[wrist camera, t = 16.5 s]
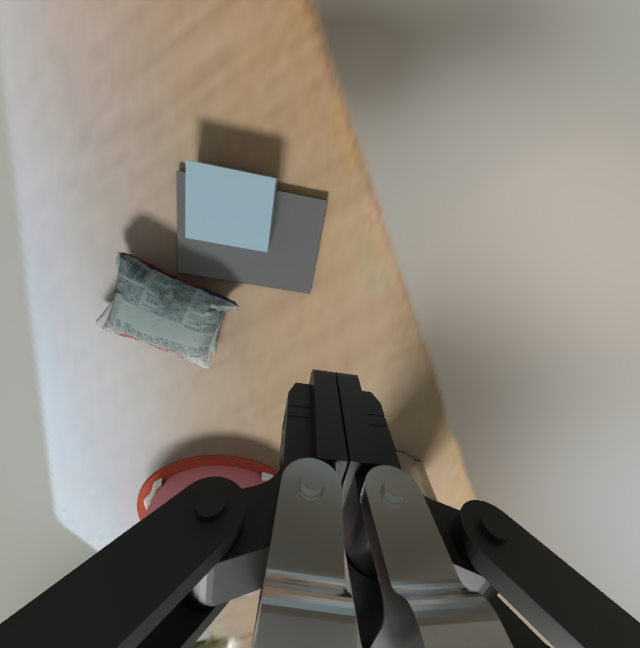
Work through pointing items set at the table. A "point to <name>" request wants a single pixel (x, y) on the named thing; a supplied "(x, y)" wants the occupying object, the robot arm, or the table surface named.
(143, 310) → the packaged food
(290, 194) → the mat
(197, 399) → the table surface
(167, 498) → the cake
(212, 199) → the block
